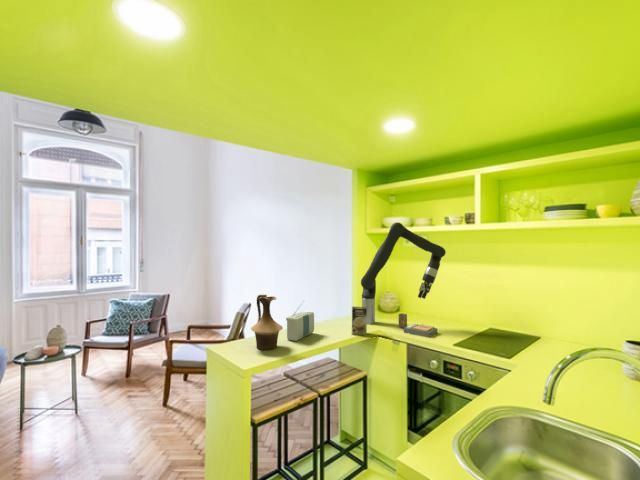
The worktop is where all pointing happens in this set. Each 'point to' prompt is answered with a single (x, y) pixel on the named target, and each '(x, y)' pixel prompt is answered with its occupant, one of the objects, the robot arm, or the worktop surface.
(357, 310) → the coffee box
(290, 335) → the stereo radio cassette player
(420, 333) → the keypad
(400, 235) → the robot arm
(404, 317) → the reddish brown block
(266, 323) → the pitcher
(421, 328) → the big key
